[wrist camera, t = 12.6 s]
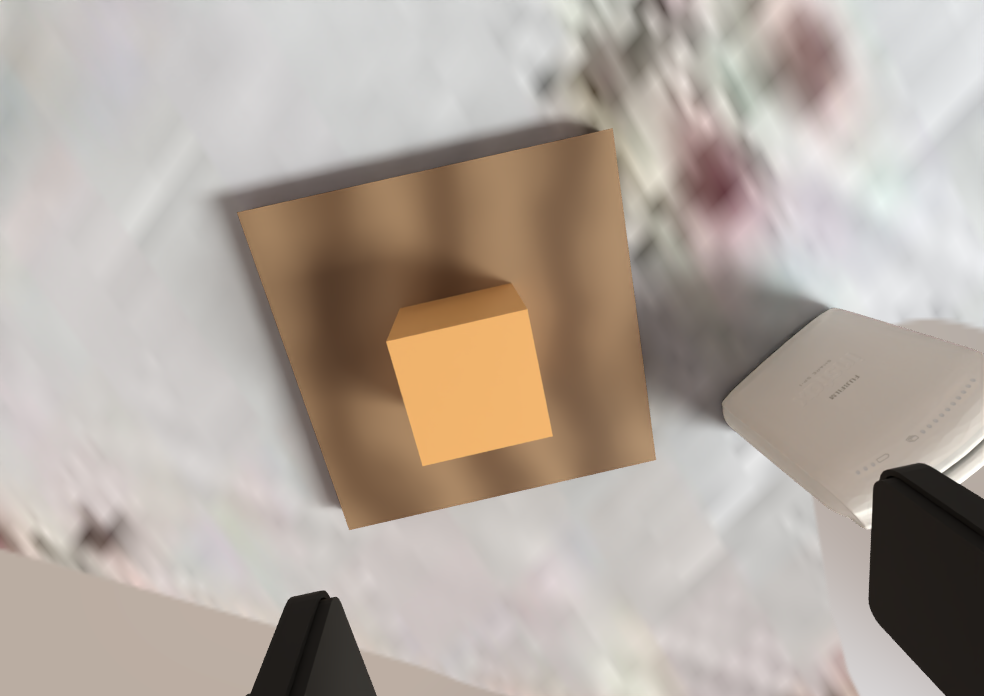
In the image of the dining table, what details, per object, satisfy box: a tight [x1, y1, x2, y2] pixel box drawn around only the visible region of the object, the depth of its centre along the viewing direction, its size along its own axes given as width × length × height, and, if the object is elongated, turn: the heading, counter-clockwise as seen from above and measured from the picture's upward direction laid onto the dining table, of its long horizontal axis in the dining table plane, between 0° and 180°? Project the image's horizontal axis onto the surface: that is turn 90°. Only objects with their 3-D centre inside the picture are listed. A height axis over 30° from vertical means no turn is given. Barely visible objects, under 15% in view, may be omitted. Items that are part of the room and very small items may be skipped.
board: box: [237, 128, 656, 530], centre depth 29 cm, size 20×20×7 cm
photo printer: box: [722, 308, 984, 529], centre depth 29 cm, size 10×4×12 cm, turn 134°
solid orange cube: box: [386, 283, 553, 466], centre depth 27 cm, size 6×6×6 cm
